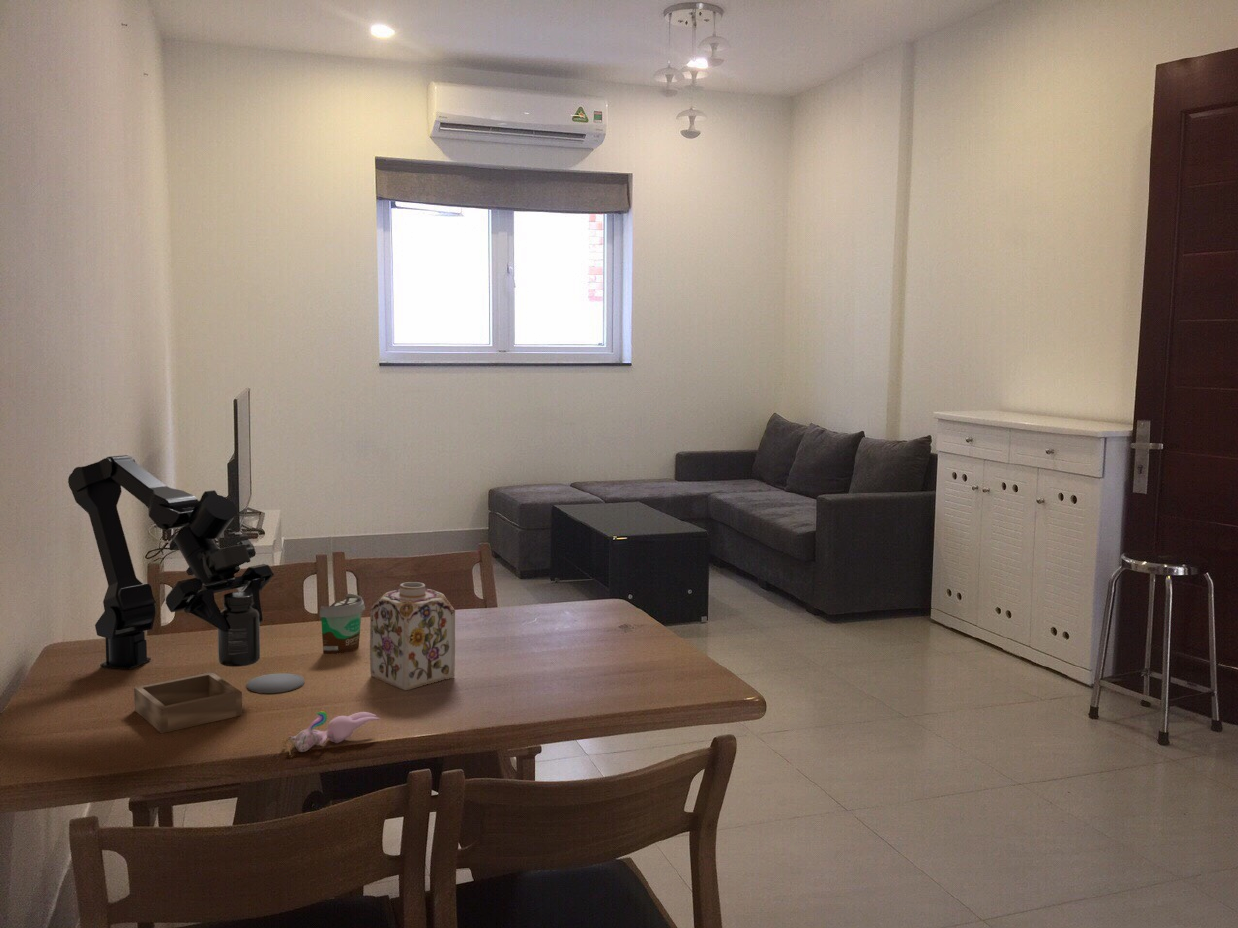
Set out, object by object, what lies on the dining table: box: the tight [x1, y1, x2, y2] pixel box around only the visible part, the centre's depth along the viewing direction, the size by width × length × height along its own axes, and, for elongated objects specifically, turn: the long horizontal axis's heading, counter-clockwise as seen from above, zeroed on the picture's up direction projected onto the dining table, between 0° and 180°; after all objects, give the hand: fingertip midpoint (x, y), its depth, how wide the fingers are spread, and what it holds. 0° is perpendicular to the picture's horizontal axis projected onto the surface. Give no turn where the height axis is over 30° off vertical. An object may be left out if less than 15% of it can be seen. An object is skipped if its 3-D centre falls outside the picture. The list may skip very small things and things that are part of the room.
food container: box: [319, 593, 366, 655], centre depth 207 cm, size 12×6×10 cm, turn 168°
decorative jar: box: [369, 581, 456, 691], centre depth 190 cm, size 12×12×18 cm
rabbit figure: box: [281, 710, 381, 756], centre depth 158 cm, size 6×6×15 cm
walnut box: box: [133, 672, 243, 734], centre depth 169 cm, size 13×13×4 cm
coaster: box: [246, 672, 305, 694], centre depth 185 cm, size 10×10×1 cm
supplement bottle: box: [217, 591, 261, 668], centre depth 175 cm, size 7×7×12 cm
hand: (244, 626), depth 175 cm, fingers closed on supplement bottle, 7 cm apart
